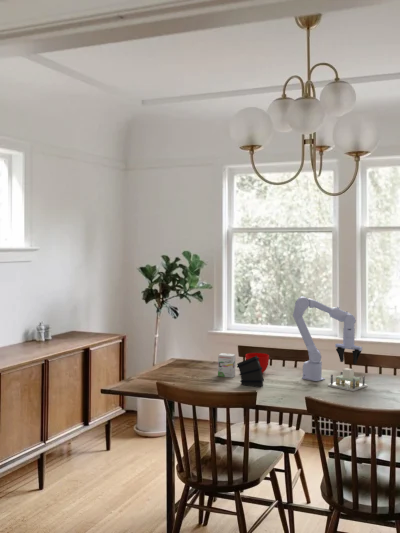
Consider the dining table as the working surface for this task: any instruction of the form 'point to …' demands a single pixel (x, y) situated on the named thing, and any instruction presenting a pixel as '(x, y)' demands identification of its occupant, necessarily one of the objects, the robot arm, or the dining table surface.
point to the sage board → (348, 375)
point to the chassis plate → (347, 384)
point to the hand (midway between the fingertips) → (348, 362)
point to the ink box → (226, 365)
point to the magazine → (251, 372)
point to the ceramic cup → (260, 359)
